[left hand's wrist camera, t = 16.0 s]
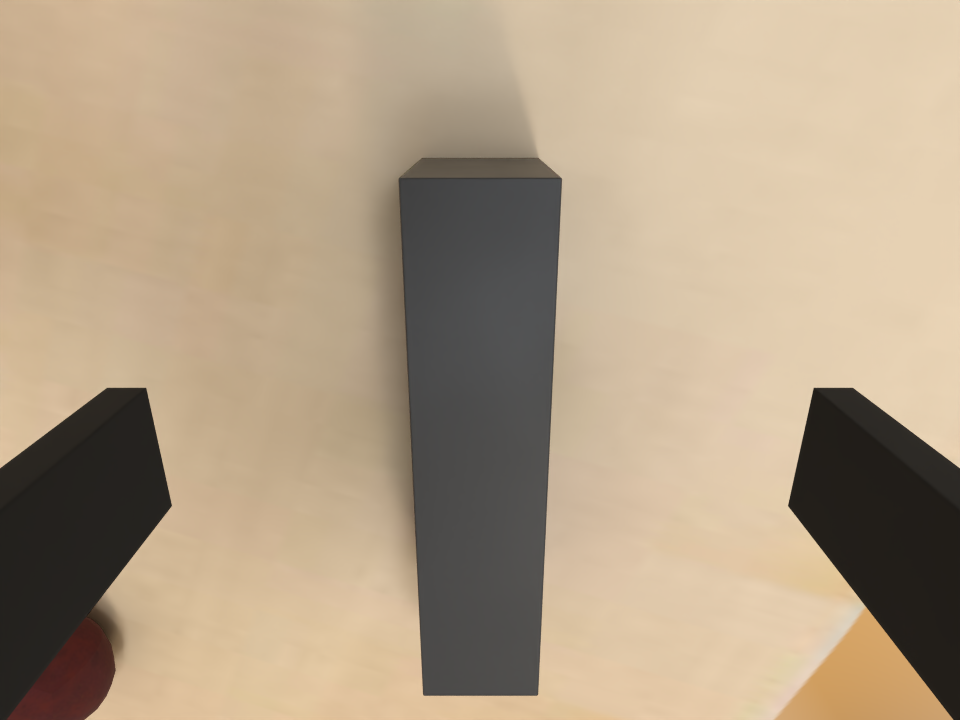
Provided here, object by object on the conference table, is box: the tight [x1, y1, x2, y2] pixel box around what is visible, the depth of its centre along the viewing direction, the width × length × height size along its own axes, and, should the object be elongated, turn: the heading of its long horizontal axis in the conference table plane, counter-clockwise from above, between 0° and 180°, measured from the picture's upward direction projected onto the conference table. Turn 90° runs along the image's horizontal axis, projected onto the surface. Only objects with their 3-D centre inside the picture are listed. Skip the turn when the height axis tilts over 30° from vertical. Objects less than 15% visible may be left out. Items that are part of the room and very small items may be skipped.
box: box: [399, 158, 562, 696], centre depth 31 cm, size 25×6×9 cm, turn 0°
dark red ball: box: [7, 617, 116, 720], centre depth 38 cm, size 7×8×7 cm
